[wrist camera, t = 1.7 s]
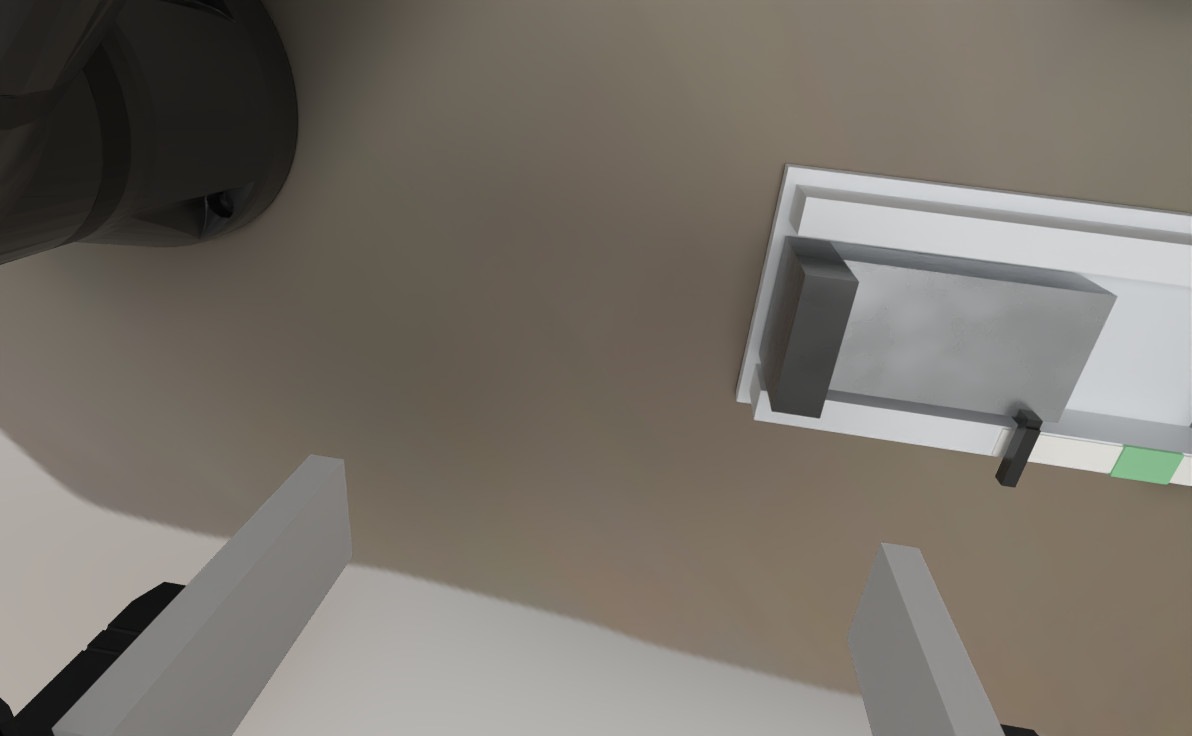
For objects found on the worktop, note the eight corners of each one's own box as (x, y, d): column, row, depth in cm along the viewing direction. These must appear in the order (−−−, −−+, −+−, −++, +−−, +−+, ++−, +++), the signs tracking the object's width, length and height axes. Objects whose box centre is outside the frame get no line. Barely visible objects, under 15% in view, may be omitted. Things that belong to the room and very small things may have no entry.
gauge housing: (735, 392, 36) (744, 465, 29) (785, 163, 30) (810, 191, 24) (1205, 462, 34) (1322, 555, 28) (1344, 232, 29) (1527, 281, 22)
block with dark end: (746, 405, 34) (756, 470, 29) (785, 236, 31) (805, 274, 25) (1004, 444, 34) (1064, 518, 28) (1079, 274, 30) (1165, 323, 24)
